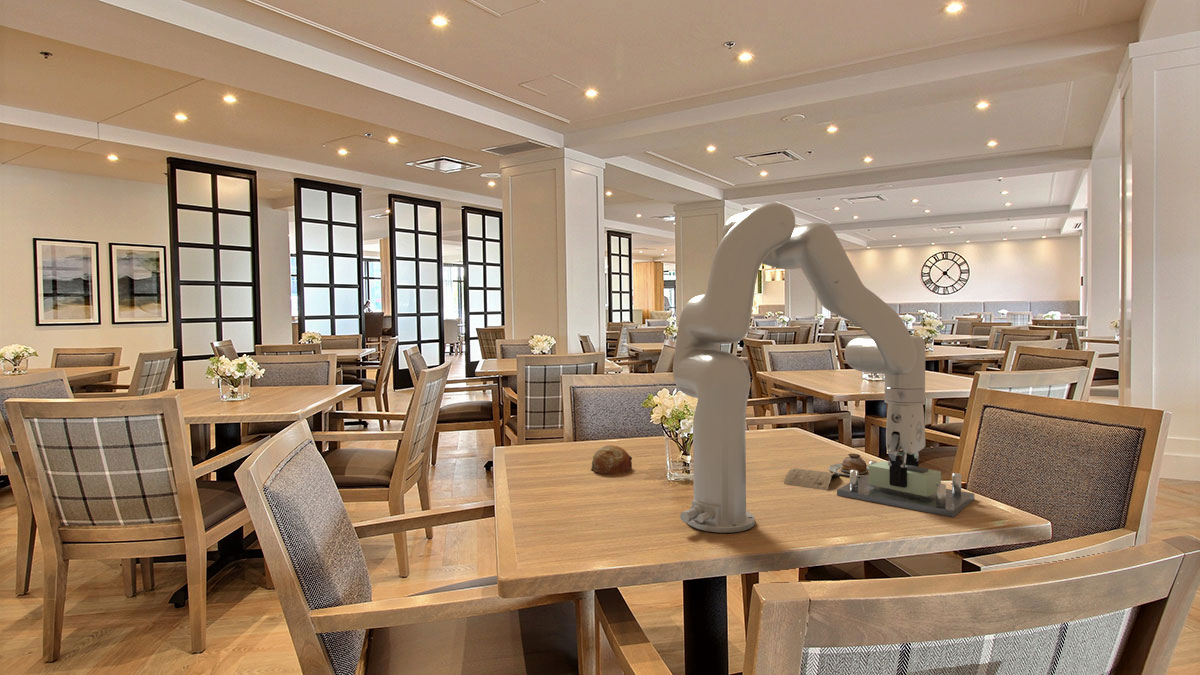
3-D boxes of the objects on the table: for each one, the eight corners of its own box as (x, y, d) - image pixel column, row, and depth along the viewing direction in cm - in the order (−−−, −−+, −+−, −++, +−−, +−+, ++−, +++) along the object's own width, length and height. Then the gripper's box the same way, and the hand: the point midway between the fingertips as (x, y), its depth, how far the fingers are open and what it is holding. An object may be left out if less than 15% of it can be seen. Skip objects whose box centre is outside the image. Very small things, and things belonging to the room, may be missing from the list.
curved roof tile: (828, 494, 135) (828, 481, 135) (780, 487, 140) (780, 475, 140) (841, 478, 147) (841, 467, 147) (797, 473, 152) (797, 462, 152)
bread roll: (593, 480, 161) (580, 453, 159) (627, 460, 163) (614, 433, 162) (605, 490, 151) (591, 462, 150) (641, 469, 154) (628, 440, 153)
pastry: (853, 465, 159) (853, 447, 158) (894, 476, 148) (894, 457, 148) (817, 471, 154) (817, 452, 153) (856, 483, 143) (856, 462, 142)
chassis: (953, 517, 117) (953, 489, 117) (836, 495, 132) (836, 470, 132) (974, 499, 128) (974, 473, 127) (864, 480, 143) (864, 457, 143)
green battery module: (926, 496, 123) (927, 472, 123) (868, 484, 133) (868, 461, 132) (940, 491, 127) (940, 467, 127) (883, 479, 136) (883, 457, 136)
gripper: (909, 402, 120) (909, 495, 121) (937, 393, 133) (936, 477, 133) (869, 399, 125) (869, 488, 126) (899, 390, 138) (899, 471, 138)
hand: (904, 481), depth 130 cm, fingers closed on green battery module, 6 cm apart
